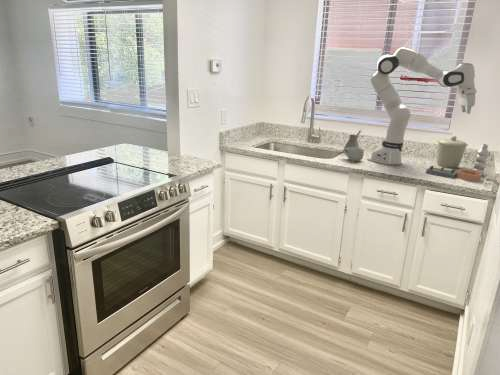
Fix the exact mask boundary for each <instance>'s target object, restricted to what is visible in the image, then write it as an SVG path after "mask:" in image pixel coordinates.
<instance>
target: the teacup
mask: <svg viewBox="0 0 500 375" xmlns="http://www.w3.org/2000/svg"><path fill="white" fill-rule="evenodd" d="M345 149H347V151H348V153H346V151H345ZM342 151H343V153H344V155H345V156H346V157H347V159H348V160H349V161H352V162H360V161H361V160H363V158H364V154H365V149H364V148H360V147H359V148H356V147H351V148H343V150H342Z"/></svg>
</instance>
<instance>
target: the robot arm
mask: <svg viewBox="0 0 500 375" xmlns="http://www.w3.org/2000/svg"><path fill="white" fill-rule="evenodd" d="M398 67H401V68H403V69H406V70H407V71H410V72H413V73H417V74H423V75H427V76H428V77H430V78H432V79H434V80H436V82H437V83H438V85H440V86H441V87H443V88H453V87H455V86H457V95H458V105H460V107H461V112H462V113H466V114H468V115H469V114H471V110H472V107H475V105H476V93H477V89H476V87H475V84H476V83H475V78H476V76H475V75H476V74H475V67H474V64H472V63H468V62H466V63H459V64H458V65H457V66H456V67H454V68H452V69H450V70H443V69H441V68H438V67H436V66H434V65H432V64H431V63H429V61H428V59H427V57H426V56H424V55H423V54H421V53H419V52H417V51H415V50H413V49H410V48H406V47H399V48H398V49H397V50H396V51H395V53H394V54H393V55H391V54H383V55H381V56H380V57H379V58H378V60H377V63H376V69H377V70H376V72H375V73H374V74H372V76H371V78H370V82H371V86H372V88H373V89H374V92H375V93H376V96H378V99H379V100H380V101H381V103H382V105H383V107H384V109H385V111H386V113H387V115H388V116H389V118H390V122H389V125H388V128H387V130H386V137H385V139H384V140H383V141H382V142H381V146H379V147H377V148H375V149H374V150H373V151H372V153H371V154H370V156H368V157H367V160H368V161H371V162H375V163H378V164H379V163H380V164H382V165H387V166H388V165H401V164H402V163H403V162H402V151H403V147H404V138H405V133H406V128H407V125H408V122H409V119H410V118H411V111H410V108H409V107H408V106H406V105H404V103H403V102H402V100H401V98H400V97H401V96H400V95H399V93H398V91H397V89H396V88H395V86H394V84H393V82H392V81H391V79H390V77H389V75H390V74H392V73H393V72H394V71H395V70H396V69H397V68H398Z"/></svg>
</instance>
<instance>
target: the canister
mask: <svg viewBox="0 0 500 375" xmlns="http://www.w3.org/2000/svg"><path fill="white" fill-rule="evenodd" d="M468 146H469V145H468V143H467V142H465V141H463V140H459V139H457V136H456V135H452V136H450V138H441V139H440V140H437V151H436V152H437V154H436V165H437V166H438V167H443V168H448V169H457V168H459V166H460V165H461V162H462V159H463V157H464V153H465V151H466V149H467V147H468Z"/></svg>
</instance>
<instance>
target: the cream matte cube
mask: <svg viewBox="0 0 500 375" xmlns="http://www.w3.org/2000/svg"><path fill="white" fill-rule="evenodd" d="M443 168H444V169H443V172H444V173H449V174H451V173H452V169H453V168H447V167H443Z"/></svg>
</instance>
